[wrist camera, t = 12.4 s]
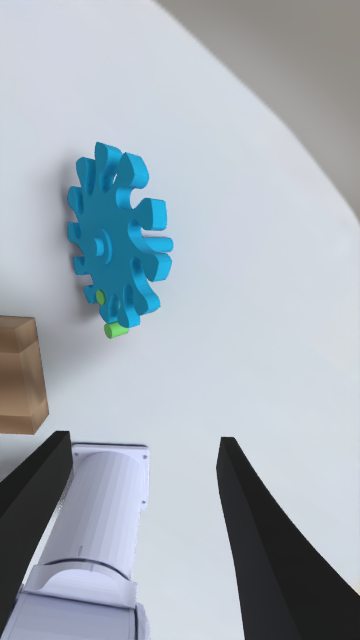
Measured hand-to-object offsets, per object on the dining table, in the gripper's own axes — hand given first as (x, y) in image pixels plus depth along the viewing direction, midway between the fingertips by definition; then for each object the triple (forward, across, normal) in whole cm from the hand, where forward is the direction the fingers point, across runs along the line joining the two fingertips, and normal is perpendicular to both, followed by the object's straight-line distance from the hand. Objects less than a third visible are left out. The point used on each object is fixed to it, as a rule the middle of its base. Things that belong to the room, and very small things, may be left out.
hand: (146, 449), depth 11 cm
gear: (+10, +3, -8) cm, 14 cm away
